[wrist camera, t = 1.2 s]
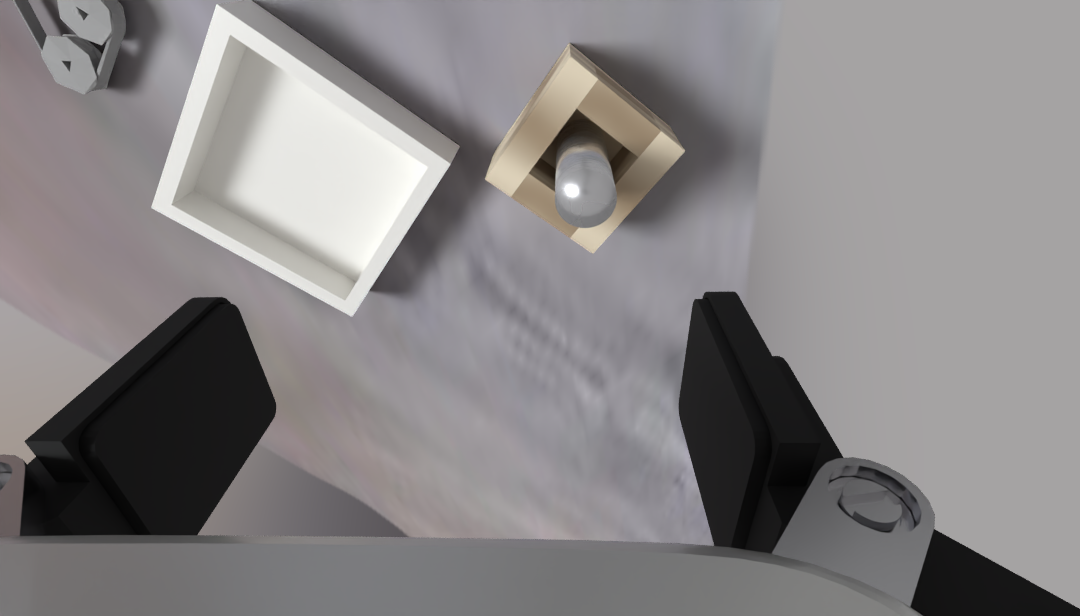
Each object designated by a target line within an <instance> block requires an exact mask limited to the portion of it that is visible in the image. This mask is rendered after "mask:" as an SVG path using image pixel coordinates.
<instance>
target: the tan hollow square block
mask: <svg viewBox="0 0 1080 616" xmlns="http://www.w3.org/2000/svg"><path fill="white" fill-rule="evenodd" d="M575 120H588V121H591V122H593V123H594V124H596V125H597V126H598V127H599V128H600V129H601V131H602V133H603V135H604V139H605V143H606V148H607V152H608V157H609V161H610V166H611V170H612V174H613V179H614V183H615V188H616V193H617V203H616V207H615V209H614V211H613V213H612V215H611V216H610V217H609V218H608V219H607V220H606V221H605V222H603V223H602V224H600V225H598V226H595V227H591V228H579V227H575V226H572V225H570V224H568V223H567V222H566V221H564V220H563V219H562V218H561V216H560V215H559V213H558V212H557V209H556V206H555V180H556V152H557V139H558V135H559V133H560V132H561V130H562V129H563V128H564V127H565V126H566V125H567V124H568V123H570V122H572V121H575ZM684 152H685V150H684V148H683V147H682V145H681V143H680V142H679V140H678V139H677V137H676V136H675V134H674V132H673V131H672V129H671V128H670V126H669V125H667V124H666V123H665V122H664V121H663V120H661V119H660V118H659V117H658V116H657V115H655V114H654V113H653V112H652V111H651V110H649V109H648V108H647V107H646V106H645V105H643V104H642V103H641V102H640V101H639V100H637V99H636V98H635V97H634V96H633V95H631V94H630V93H629V92H628V91H627V90H625V89H624V88H623V87H622V86H621V85H619V84H618V83H617V82H616V81H615V80H613V79H612V78H611V77H610V76H609V75H607V74H606V73H605V72H604V71H603V70H601V69H600V68H599V67H598V66H597V65H595V64H594V63H593V62H592V61H591V60H589V59H588V58H587V57H586V56H585V55H583V54H582V53H581V52H580V51H579V50H577V49H576V48H575V47H574V46H573V45H571V44H570V43H569V44H568V45H567V47H566V48H565V50H564V51H563V53H562V54H561V56H560V57H559V58H558V60H557V61H556V63H555V64H554V66H553V67H552V69H551V70H550V72H549V73H548V75H547V76H546V77H545V79H544V80H543V82H542V83H541V85H540V86H539V88H538V89H537V91H536V92H535V93H534V95H533V96H532V98H531V99H530V101H529V102H528V104H527V105H526V107H525V108H524V110H523V111H522V112H521V114H520V115H519V117H518V118H517V120H516V121H515V123H514V124H513V126H512V127H511V128H510V130H509V131H508V133H507V134H506V136H505V137H504V139H503V140H502V142H501V143H500V145H499V146H498V147H497V149H496V150H495V152H494V154H493V157H492V160H491V163H490V166H489V169H488V172H487V175H486V178H485V180H487V181H488V182H489V183H491V184H492V185H494V186H495V187H497V188H498V189H500V190H501V191H503V192H504V193H505V194H507V195H508V196H510V197H511V198H513V199H514V200H516V201H517V202H518V203H520V204H521V205H523V206H524V207H526V208H527V209H529V210H530V211H532V212H533V213H534V214H536V215H537V216H539V217H540V218H542V219H543V220H545V221H546V222H548V223H549V224H550V225H552V226H553V227H555V228H556V229H558V230H559V231H561V232H562V233H563V234H565V235H566V236H568V237H569V238H571V239H572V240H574V241H575V242H577V243H578V244H579V245H581V246H582V247H584V248H585V249H587V250H588V251H590V252H591V253H594V252H595V251H596V250H597V249H598V248H599V246H600V245H601V244H602V243H603V242H604V241H605V240H606V239H607V238H608V236H609V235H610V234H611V233H612V232H613V231H614V230H615V229H616V228H617V226H618V225H619V224H620V223H621V222H622V221H623V220H624V219H625V218H626V216H627V215H628V214H629V213H630V212H631V211H632V210H633V209H634V207H635V206H636V205H637V204H638V203H639V202H640V201H641V200H642V199H643V197H644V196H645V195H646V194H647V193H648V192H649V191H650V190H651V189H652V187H653V186H654V185H655V184H656V183H657V182H658V181H659V180H660V179H661V177H662V176H663V175H664V174H665V173H666V172H667V171H668V170H669V169H670V167H671V166H672V165H673V164H674V163H675V162H676V161H677V160H678V159H679V157H680V156H681V155H682V154H683V153H684Z"/></svg>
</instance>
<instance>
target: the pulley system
mask: <svg viewBox="0 0 1080 616" xmlns="http://www.w3.org/2000/svg"><path fill="white" fill-rule="evenodd" d="M12 1H13V2H14V4H15V6H16V8H17V10H18V11H19V13H20V15H21V17H22V19H23V20H24V22H25V24H26V26H27V27H28V29H29V31H30V33H31V35H32V36H33V38H34V40H35V42H36V44H37V45H38V47H39V49H40V51H41V52H42V53H41V56H42V58H43V60H44V62H45V63H46V65H47V67H48V69H49V71H50V72H51V74H52V76H53V78H54V80H55V81H56V83H58V84H61V85H63V86H65V87H68V88H70V89H72V90H75V91H77V92H79V93H82V94H86V93H88V92H90V91H94V90H99V89H107V86H108V81H109V78H110V75H111V72H112V69H113V66H114V63H115V60H116V57H117V54H118V51H119V48H120V45H121V42H122V39H123V37H125V30H126V20H125V15H124V10H123V6H122V5H121V4H120V3H119V2H118V0H57V3H58V9H59V15H60V19H61V20H62V21H63V22H64V23H65V24H66V25H67V26H68V27H70V28H71V29H72V30H73V31H74V32H75V33H76V34H77V35H72V34H63V35H62V37H59V36H46V34H45V32H44V30H43V28H42V26H41V24H40V22H39V20H38V19H37V17H36V15H35V13H34V11H33V9H32V7H31V5H30V4H29V2H28V0H12ZM88 40H89V41H91V42H94V43H97V44H100V45H103V44H104V43H105V41H107V43H106V46H105V49H104V52H103V55H102V54H101V53H100V51H99V50H98V49H97V48H95V47H94V46H93V45H92V44H91V43H90V42H89V41H88Z"/></svg>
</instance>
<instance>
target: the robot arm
mask: <svg viewBox="0 0 1080 616" xmlns="http://www.w3.org/2000/svg"><path fill="white" fill-rule="evenodd" d="M275 413H276V402H275V399H274V397H273V394H272V392H271V389H270V387H269V384H268V382H267V379H266V376H265V374H264V371H263V369H262V366H261V364H260V361H259V359H258V356H257V354H256V351H255V349H254V346H253V344H252V341H251V339H250V336H249V334H248V331H247V329H246V326H245V324H244V321H243V319H242V316H241V314H240V311H239V309H238V308H237V307H236V306H235V305H233V304H231V303H230V302H229V301H228V300H227V299H226V298H223V297H198V298H192V299H190V300H189V301H187V302H186V303H185V304H184V305H183V306H182V307H180V308H179V309H178V310H177V311H176V312H175V313H173V314H172V315H171V316H170V317H169V318H168V319H166V320H165V321H164V322H163V323H162V324H161V325H159V326H158V327H157V328H156V329H155V330H154V331H152V332H151V333H150V334H149V335H148V336H147V337H145V338H144V339H143V340H142V341H141V342H140V343H138V344H137V345H136V346H135V347H134V348H133V349H131V350H130V351H129V352H128V353H127V354H126V355H124V356H123V357H122V358H121V359H120V360H119V361H117V362H116V363H115V364H114V365H113V366H112V367H111V368H109V369H108V370H107V371H106V372H105V373H104V374H102V375H101V376H100V377H99V378H98V379H97V380H95V381H94V382H93V383H92V384H91V385H90V386H88V387H87V388H86V389H85V390H84V391H83V392H81V393H80V394H79V395H78V396H77V397H76V398H74V399H73V400H72V401H71V402H70V403H69V404H67V405H66V406H65V407H64V408H63V409H62V410H60V411H59V412H58V413H57V414H56V415H55V416H53V417H52V418H51V419H50V420H49V421H48V422H46V423H45V424H44V425H43V426H42V427H41V428H40V429H38V430H37V431H36V432H35V433H34V434H32V435H31V436H30V437H29V438H28V439H27V440H25V443H26V444H27V445H28V446H29V447H30V449H31V450H32V451H33V453H34V454H35V455H36V457H35V458H34V459H33V460H32V461H31V462H30V463H29V464H28V465H27V464H26V463H25V462H24V461H23V459H21V458H19V457H17V456H15V455H0V616H1080V609H1079V608H1077V607H1075V606H1073V605H1072V604H1070V603H1068V602H1066V601H1064V600H1063V599H1061V598H1059V597H1057V596H1055V595H1053V594H1051V593H1050V592H1048V591H1046V590H1044V589H1042V588H1041V587H1039V586H1037V585H1035V584H1033V583H1031V582H1030V581H1028V580H1026V579H1024V578H1022V577H1021V576H1019V575H1017V574H1015V573H1013V572H1011V571H1010V570H1008V569H1006V568H1004V567H1002V566H1000V565H999V564H997V563H995V562H993V561H991V560H989V559H988V558H985V557H984V556H982V555H980V554H979V553H976V552H975V551H973V550H971V549H969V548H968V547H966V546H964V545H962V544H960V543H959V542H957V541H955V540H953V539H951V538H949V537H947V536H946V535H944V534H942V533H940V532H938V531H936V530H935V529H934V521H935V514H934V512H933V510H932V507H931V505H930V502H929V501H928V499H927V498H926V497H925V496H924V494H923V493H922V492H921V491H920V489H919V488H918V487H917V486H916V485H914V484H913V483H912V482H911V481H909V480H908V479H907V478H906V477H904V476H903V475H901V474H900V473H898V472H896V471H894V470H892V469H891V468H889V467H887V466H884V465H881V464H879V463H876V462H873V461H870V460H866V459H859V458H853V457H852V458H843V456H842V454H841V453H840V451H839V449H838V448H837V446H836V444H835V443H834V441H833V439H832V437H831V436H830V434H829V432H828V431H827V429H826V427H825V426H824V424H823V422H822V421H821V419H820V417H819V416H818V414H817V412H816V410H815V409H814V407H813V405H812V404H811V402H810V400H809V399H808V397H807V395H806V394H805V392H804V390H803V389H802V387H801V385H800V383H799V382H798V380H797V378H796V377H795V375H794V373H793V372H792V370H791V368H790V367H789V365H788V363H787V362H786V361H785V360H784V358H782V357H780V356H772V355H771V353H770V352H769V349H768V348H767V346H766V344H765V342H764V340H763V339H762V337H761V335H760V334H759V332H758V330H757V328H756V326H755V325H754V323H753V321H752V319H751V318H750V316H749V314H748V312H747V310H746V309H745V307H744V305H743V303H742V301H741V300H740V298H739V296H738V294H737V293H736V292H705V293H704V296H703V299H695V300H694V302H693V307H692V313H691V320H690V327H689V334H688V341H687V348H686V355H685V362H684V369H683V376H682V383H681V390H680V397H679V416H680V421H681V424H682V428H683V432H684V435H685V439H686V443H687V446H688V450H689V454H690V457H691V461H692V465H693V468H694V472H695V476H696V479H697V483H698V487H699V490H700V494H701V498H702V501H703V505H704V509H705V512H706V516H707V520H708V524H709V527H710V531H711V535H712V538H713V542H714V546H707V545H694V544H680V543H654V542H623V541H592V540H544V539H483V538H417V537H327V536H324V537H323V536H319V537H318V536H200V535H198V533H199V531H200V530H201V529H202V527H203V525H204V524H205V522H206V521H207V519H208V518H209V516H210V515H211V513H212V512H213V510H214V509H215V507H216V506H217V504H218V503H219V501H220V499H221V498H222V496H223V495H224V493H225V492H226V490H227V489H228V487H229V486H230V484H231V483H232V481H233V480H234V478H235V477H236V475H237V474H238V472H239V471H240V469H241V468H242V466H243V465H244V463H245V461H246V460H247V458H248V457H249V455H250V454H251V452H252V451H253V449H254V448H255V446H256V445H257V443H258V442H259V440H260V439H261V437H262V436H263V434H264V433H265V431H266V430H267V428H268V426H269V425H270V423H271V422H272V420H273V419H274V417H275Z"/></svg>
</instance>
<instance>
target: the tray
mask: <svg viewBox="0 0 1080 616" xmlns="http://www.w3.org/2000/svg"><path fill="white" fill-rule="evenodd" d="M459 148H460V146H459V145H458V144H456V143H455V142H453V141H452V140H450V139H449V138H448V137H446V136H445V135H443V134H442V133H440V132H439V131H438V130H436V129H435V128H433V127H432V126H430V125H429V124H428V123H426V122H425V121H423V120H422V119H420V118H419V117H418V116H416V115H415V114H413V113H412V112H410V111H409V110H408V109H406V108H405V107H403V106H402V105H400V104H399V103H398V102H396V101H395V100H393V99H392V98H390V97H389V96H388V95H386V94H385V93H383V92H382V91H380V90H379V89H378V88H376V87H375V86H373V85H372V84H370V83H369V82H368V81H366V80H365V79H363V78H362V77H360V76H359V75H358V74H356V73H355V72H353V71H352V70H350V69H349V68H348V67H346V66H345V65H343V64H342V63H340V62H339V61H338V60H336V59H335V58H333V57H332V56H330V55H329V54H328V53H326V52H325V51H323V50H322V49H320V48H319V47H318V46H316V45H315V44H313V43H312V42H310V41H309V40H308V39H306V38H305V37H303V36H302V35H300V34H299V33H298V32H296V31H295V30H293V29H292V28H290V27H289V26H288V25H286V24H285V23H283V22H282V21H280V20H279V19H278V18H276V17H275V16H273V15H272V14H270V13H269V12H268V11H266V10H265V9H263V8H262V7H260V6H259V5H258V4H256V3H255V2H253V1H252V0H242V1H235V2H228V3H221V4H217V5H216V8H215V11H214V14H213V17H212V20H211V24H210V27H209V30H208V33H207V36H206V39H205V42H204V45H203V48H202V52H201V55H200V58H199V61H198V64H197V67H196V70H195V73H194V77H193V80H192V83H191V86H190V89H189V92H188V95H187V98H186V101H185V105H184V108H183V111H182V114H181V117H180V120H179V123H178V126H177V129H176V133H175V136H174V139H173V142H172V145H171V148H170V151H169V154H168V158H167V161H166V164H165V167H164V170H163V173H162V176H161V179H160V182H159V186H158V189H157V192H156V195H155V198H154V201H153V204H152V207H151V208H153V209H154V210H156V211H158V212H160V213H162V214H164V215H165V216H167V217H169V218H171V219H173V220H175V221H176V222H178V223H180V224H182V225H184V226H186V227H188V228H189V229H191V230H193V231H195V232H197V233H199V234H200V235H202V236H204V237H206V238H208V239H210V240H211V241H213V242H215V243H217V244H219V245H221V246H223V247H224V248H226V249H228V250H230V251H232V252H234V253H235V254H237V255H239V256H241V257H243V258H245V259H246V260H248V261H250V262H252V263H254V264H256V265H258V266H259V267H261V268H263V269H265V270H267V271H269V272H270V273H272V274H274V275H276V276H278V277H280V278H281V279H283V280H285V281H287V282H289V283H291V284H293V285H294V286H296V287H298V288H300V289H302V290H304V291H305V292H307V293H309V294H311V295H313V296H315V297H316V298H318V299H320V300H322V301H324V302H326V303H328V304H329V305H331V306H333V307H335V308H337V309H339V310H340V311H342V312H344V313H346V314H348V315H350V316H351V317H352V316H353V315H354V313H355V312H356V310H357V309H358V307H359V306H360V304H361V302H362V301H363V299H364V298H365V296H366V295H367V293H368V292H369V290H370V288H371V287H372V285H373V284H374V282H375V281H376V279H377V278H378V276H379V275H380V273H381V271H382V270H383V268H384V267H385V265H386V264H387V262H388V261H389V259H390V257H391V256H392V254H393V253H394V251H395V250H396V248H397V247H398V245H399V244H400V242H401V240H402V239H403V237H404V236H405V234H406V233H407V231H408V230H409V228H410V226H411V225H412V223H413V222H414V220H415V219H416V217H417V216H418V214H419V213H420V211H421V209H422V208H423V206H424V205H425V203H426V202H427V200H428V199H429V197H430V195H431V194H432V192H433V191H434V189H435V188H436V186H437V185H438V183H439V182H440V180H441V178H442V177H443V175H444V174H445V172H446V171H447V169H448V168H449V166H450V164H451V163H452V161H453V159H454V157H455V155H456V153H457V151H458V149H459Z"/></svg>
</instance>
